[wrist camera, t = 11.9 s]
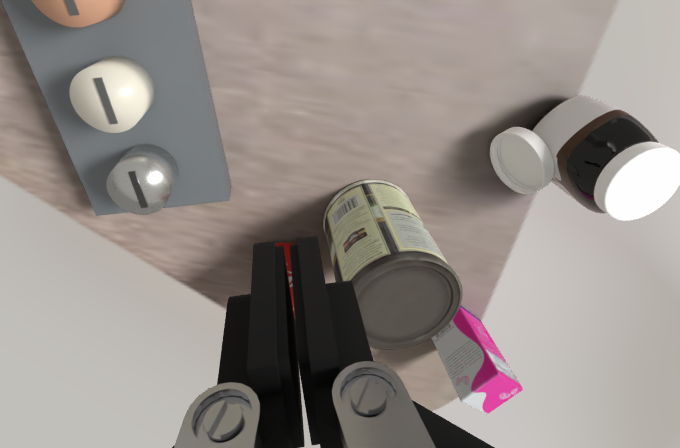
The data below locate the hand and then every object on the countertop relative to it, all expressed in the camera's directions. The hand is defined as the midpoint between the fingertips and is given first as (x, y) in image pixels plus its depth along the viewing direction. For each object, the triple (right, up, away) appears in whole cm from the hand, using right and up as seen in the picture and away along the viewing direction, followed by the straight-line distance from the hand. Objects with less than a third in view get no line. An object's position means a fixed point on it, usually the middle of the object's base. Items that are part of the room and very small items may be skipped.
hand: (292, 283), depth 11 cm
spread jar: (+23, +10, +33) cm, 41 cm away
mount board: (-16, +14, +23) cm, 31 cm away
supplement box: (+17, -12, +46) cm, 51 cm away
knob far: (-16, +8, +27) cm, 32 cm away
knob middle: (-16, +14, +23) cm, 31 cm away
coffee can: (+5, +2, +34) cm, 35 cm away
